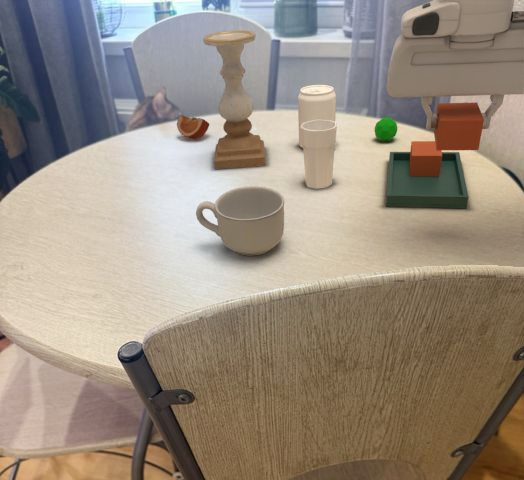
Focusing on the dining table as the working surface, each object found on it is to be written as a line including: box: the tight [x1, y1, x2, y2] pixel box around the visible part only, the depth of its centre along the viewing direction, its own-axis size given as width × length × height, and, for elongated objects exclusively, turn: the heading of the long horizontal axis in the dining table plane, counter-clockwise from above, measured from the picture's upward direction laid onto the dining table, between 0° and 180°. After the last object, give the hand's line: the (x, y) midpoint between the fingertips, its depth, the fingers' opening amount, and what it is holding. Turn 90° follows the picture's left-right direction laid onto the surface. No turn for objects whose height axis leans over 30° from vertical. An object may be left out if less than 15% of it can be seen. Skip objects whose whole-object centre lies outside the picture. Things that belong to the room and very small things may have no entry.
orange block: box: [433, 102, 484, 151], centre depth 75 cm, size 6×8×4 cm
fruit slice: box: [176, 114, 210, 140], centre depth 130 cm, size 8×7×5 cm
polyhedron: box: [374, 116, 398, 142], centre depth 119 cm, size 5×5×5 cm
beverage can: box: [297, 84, 337, 149], centre depth 117 cm, size 8×8×12 cm
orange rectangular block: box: [409, 140, 443, 177], centre depth 104 cm, size 6×8×4 cm
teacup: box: [195, 185, 285, 257], centre depth 84 cm, size 14×11×8 cm
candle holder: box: [202, 30, 267, 170], centre depth 110 cm, size 11×11×24 cm
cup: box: [301, 120, 338, 190], centre depth 101 cm, size 7×7×11 cm
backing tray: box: [385, 151, 470, 209], centre depth 101 cm, size 14×22×2 cm, turn 168°
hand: (456, 128), depth 75 cm, fingers closed on orange block, 5 cm apart
